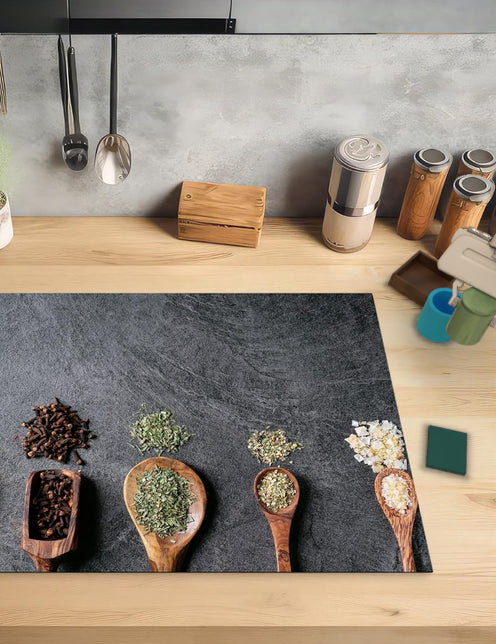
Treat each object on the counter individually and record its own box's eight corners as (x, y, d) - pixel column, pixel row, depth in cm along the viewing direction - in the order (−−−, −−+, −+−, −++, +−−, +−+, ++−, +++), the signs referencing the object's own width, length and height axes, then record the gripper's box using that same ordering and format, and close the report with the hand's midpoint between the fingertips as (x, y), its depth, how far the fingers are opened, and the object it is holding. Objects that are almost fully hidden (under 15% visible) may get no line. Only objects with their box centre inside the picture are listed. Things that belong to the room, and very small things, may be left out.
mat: (428, 427, 143) (429, 424, 142) (465, 435, 141) (467, 433, 141) (425, 467, 137) (427, 464, 137) (464, 476, 136) (466, 473, 135)
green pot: (488, 332, 136) (507, 300, 128) (469, 351, 133) (487, 320, 126) (458, 312, 138) (474, 280, 131) (438, 331, 136) (454, 299, 129)
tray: (455, 285, 164) (461, 274, 161) (428, 311, 160) (433, 300, 157) (415, 260, 169) (419, 249, 166) (387, 284, 164) (391, 274, 162)
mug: (417, 339, 155) (429, 315, 149) (415, 310, 160) (426, 285, 153) (476, 347, 154) (490, 322, 147) (472, 317, 159) (486, 292, 152)
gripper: (460, 218, 129) (416, 287, 133) (575, 274, 121) (525, 345, 125) (463, 224, 135) (421, 289, 138) (573, 277, 126) (526, 345, 130)
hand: (471, 316), depth 131 cm, fingers closed on green pot, 6 cm apart
